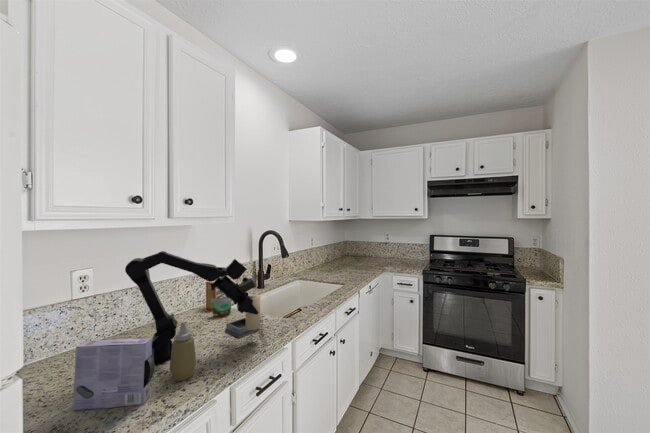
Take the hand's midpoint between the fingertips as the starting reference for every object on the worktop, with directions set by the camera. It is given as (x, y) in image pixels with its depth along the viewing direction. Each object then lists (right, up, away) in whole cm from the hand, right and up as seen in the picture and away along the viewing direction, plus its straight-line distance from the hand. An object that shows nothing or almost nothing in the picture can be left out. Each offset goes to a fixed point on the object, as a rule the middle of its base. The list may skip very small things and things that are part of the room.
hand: (256, 311), depth 119 cm
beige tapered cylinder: (-1, -7, -1) cm, 7 cm away
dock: (-9, -13, +11) cm, 19 cm away
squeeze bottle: (-18, -13, -25) cm, 34 cm away
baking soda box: (-33, -12, +42) cm, 55 cm away
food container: (-24, -13, +30) cm, 41 cm away
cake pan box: (-31, -13, -39) cm, 51 cm away
